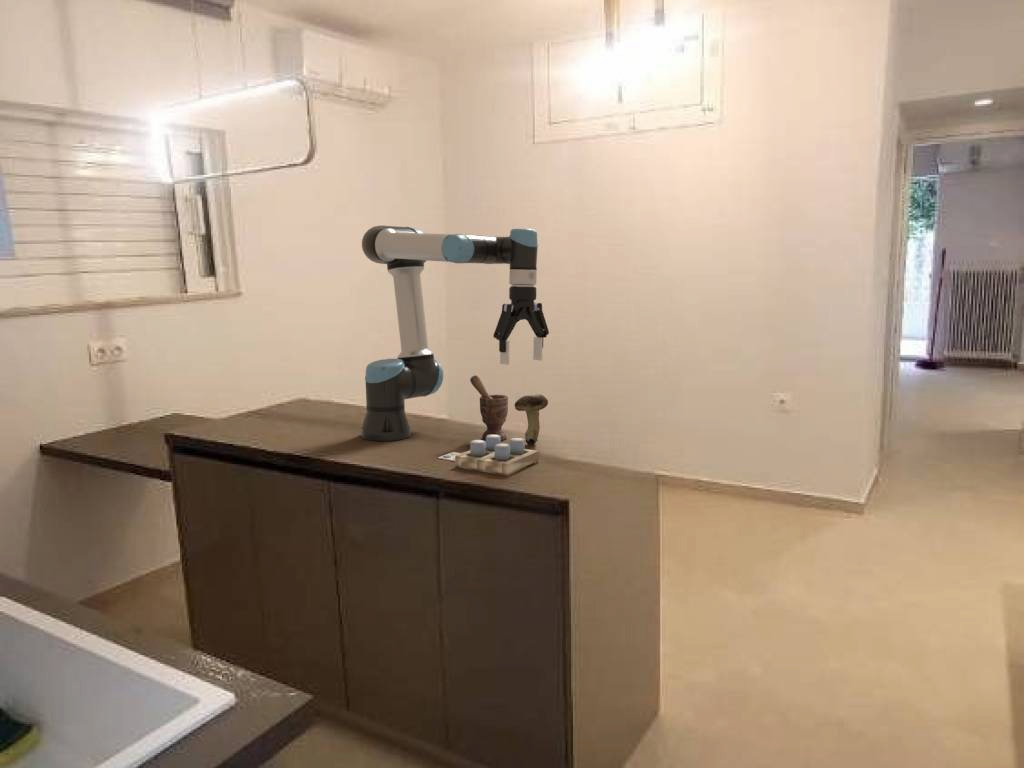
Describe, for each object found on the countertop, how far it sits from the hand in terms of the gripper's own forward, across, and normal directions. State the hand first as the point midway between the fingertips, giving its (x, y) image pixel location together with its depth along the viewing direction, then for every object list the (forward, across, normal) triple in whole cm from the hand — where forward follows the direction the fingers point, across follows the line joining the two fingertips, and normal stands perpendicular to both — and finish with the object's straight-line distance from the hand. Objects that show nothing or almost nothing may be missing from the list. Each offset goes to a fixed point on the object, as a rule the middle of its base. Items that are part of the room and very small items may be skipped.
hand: (521, 362), depth 201 cm
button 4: (+23, -11, -9) cm, 27 cm away
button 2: (+23, -13, -2) cm, 26 cm away
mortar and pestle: (+26, +3, +15) cm, 30 cm away
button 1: (+23, -20, -4) cm, 31 cm away
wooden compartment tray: (+25, -16, -7) cm, 31 cm away
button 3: (+23, -19, -11) cm, 31 cm away
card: (+26, -19, +6) cm, 32 cm away
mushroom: (+26, +7, +2) cm, 27 cm away
